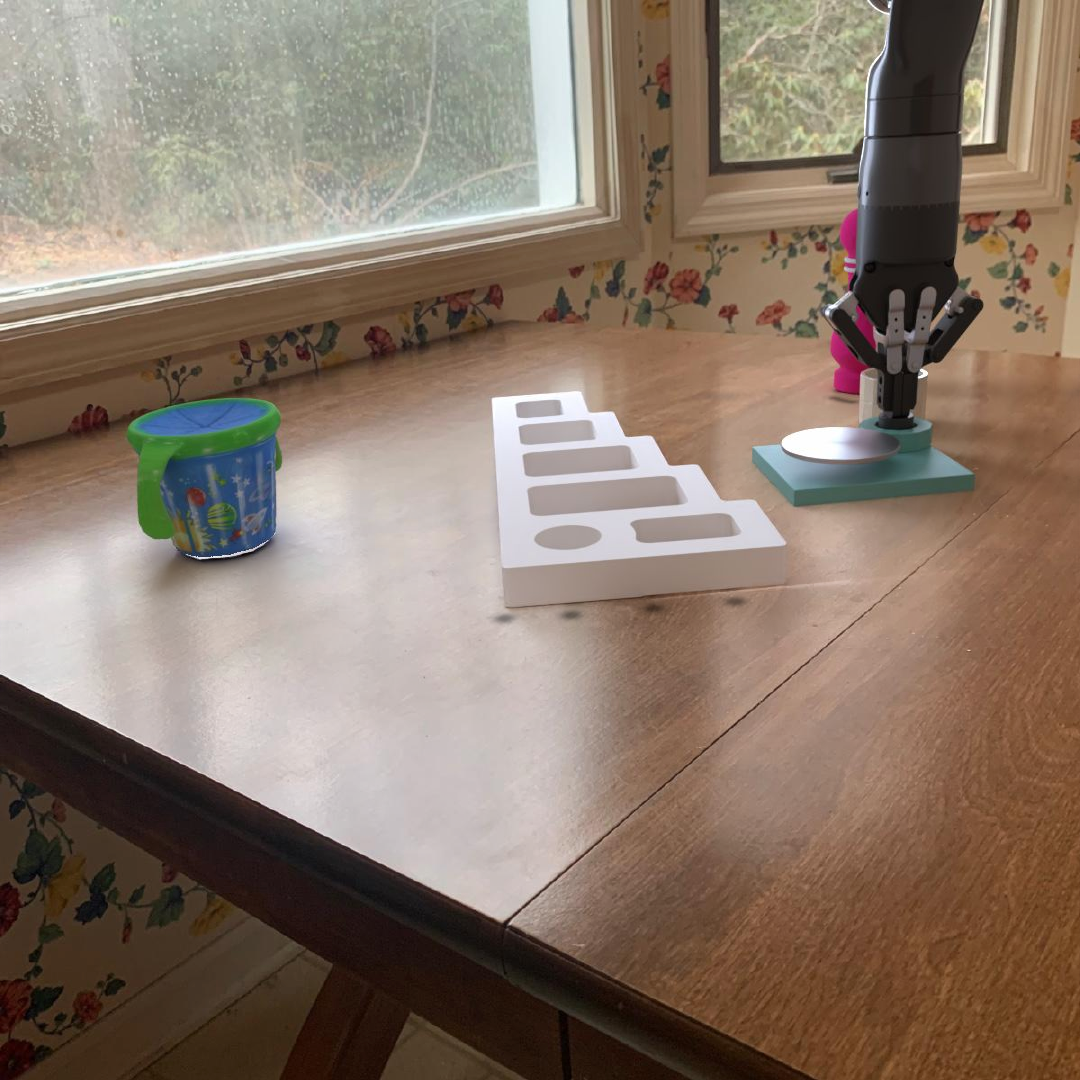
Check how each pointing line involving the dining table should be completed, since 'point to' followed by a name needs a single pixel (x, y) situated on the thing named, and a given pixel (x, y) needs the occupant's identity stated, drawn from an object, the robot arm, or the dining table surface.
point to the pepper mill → (849, 366)
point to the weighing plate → (840, 445)
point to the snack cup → (208, 474)
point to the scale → (867, 471)
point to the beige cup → (869, 395)
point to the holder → (613, 512)
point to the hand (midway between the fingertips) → (896, 415)
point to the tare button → (895, 422)
